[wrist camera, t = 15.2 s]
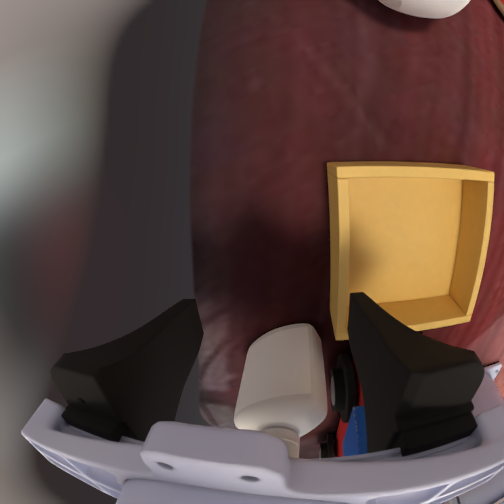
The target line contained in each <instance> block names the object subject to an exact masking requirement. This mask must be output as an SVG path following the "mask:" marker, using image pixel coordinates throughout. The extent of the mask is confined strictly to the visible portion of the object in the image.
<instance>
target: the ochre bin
mask: <svg viewBox="0 0 504 504" xmlns="http://www.w3.org/2000/svg"><path fill="white" fill-rule="evenodd" d="M327 174H328V190H329V211H330V255H331V274H330V313H331V319H332V324H333V329H334V334H335V340H349V337H348V330H347V327H348V316H349V302H350V293H356V292H364V293H365V294H366V295H367V296H369V297H370V298H371V299H372V300H373V301H374V302H375V303H377V304H378V305H379V306H380V307H381V308H383V309H384V310H385V311H386V312H388V313H389V314H390V315H391V316H393V317H394V318H396V319H397V320H398V321H400V322H401V323H403V324H404V325H406V326H408V327H409V328H411V329H413V330H415V331H422V330H428V329H434V328H439V327H445V326H450V325H455V324H460V323H465V322H469V321H470V319H471V316H472V315H471V314H472V312H473V309H474V306H475V302H476V298H477V295H478V291H479V287H480V283H481V279H482V274H483V269H484V265H485V260H486V254H487V248H488V242H489V235H490V228H491V219H492V209H493V196H494V172H492V171H488V170H484V169H480V168H475V167H471V166H466V165H457V164H443V163H426V162H396V161H352V162H327Z"/></svg>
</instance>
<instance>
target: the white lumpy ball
mask: <svg viewBox="0 0 504 504" xmlns="http://www.w3.org/2000/svg"><path fill="white" fill-rule="evenodd" d="M378 1H380V2H381V3H382V4H384V5H385V6H387V7H389V8H391V9H393V10H396V11H399V12H402V13H405V14H408V15H412V16H416V17H423V18H446V17H449V16H451V15H454V14H455V13H457V12H459V11H460V10H461V9H463V8H464V7H465V6H466V5H467V4H468V3H469V1H470V0H378Z"/></svg>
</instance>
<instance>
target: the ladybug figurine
mask: <svg viewBox="0 0 504 504" xmlns="http://www.w3.org/2000/svg"><path fill="white" fill-rule="evenodd" d="M493 1H494V3H495V4H496V6H497V7H498V9H499V10H500V12H501V13H502V15H503V16H504V0H493Z"/></svg>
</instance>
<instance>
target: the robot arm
mask: <svg viewBox="0 0 504 504" xmlns="http://www.w3.org/2000/svg"><path fill="white" fill-rule="evenodd" d="M347 330H348V337H349V343H350V348H351V352H352V355H353V359H354V362H355V366H356V369H357V373H358V377H359V380H360V384H361V389H362V394H363V402H364V410H365V421H366V435H367V453H366V454H359V455H352V456H343V457H333V458H321V459H302V458H293V457H288V448H287V446H286V445H285V443H284V442H283V440H282V439H280V438H278V437H276V436H274V435H271V434H269V433H267V432H261V431H255V430H248V429H232V428H220V427H210V426H202V425H194V424H186V423H181V422H174V421H175V416H176V412H177V408H178V404H179V401H180V397H181V394H182V390H183V388H184V385H185V382H186V380H187V378H188V376H189V373H190V371H191V369H192V366H193V364H194V361H195V359H196V357H197V355H198V352H199V349H200V346H201V342H202V338H203V334H204V333H203V329H202V325H201V321H200V317H199V313H198V309H197V305H196V300H195V299H183V300H181V301H180V302H178V303H176V304H175V305H173V306H172V307H171V308H169V309H168V310H166V311H165V312H163V313H162V314H160V315H159V316H157V317H156V318H154V319H153V320H151V321H150V322H148V323H147V324H145V325H143V326H142V327H140V328H138V329H137V330H135V331H133V332H131V333H129V334H127V335H125V336H123V337H121V338H118V339H116V340H113V341H111V342H108V343H106V344H103V345H100V346H97V347H94V348H90V349H86V350H82V351H77V352H71V353H65V354H63V355H62V356H61V358H60V359H59V360H58V361H57V362H56V363H55V364H54V366H53V367H52V368H51V370H50V373H51V378H52V381H53V382H54V384H55V386H56V387H57V388H58V390H59V392H60V393H61V394H62V396H63V397H64V399H65V400H66V401H67V403H68V404H69V405H68V406H67V407H66V409H65V408H64V407H63V406H61V405H60V404H57V403H55V402H53V401H51V400H49V399H45V400H44V401H43V403H42V404H41V405H40V406H39V408H38V409H37V411H36V412H35V413H34V414H33V416H32V417H31V419H30V420H29V421H28V423H27V424H26V426H25V427H24V428H23V430H22V431H21V434H22V435H23V436H24V437H25V438H26V439H27V440H28V441H29V442H30V443H31V444H32V445H33V446H34V447H35V448H36V449H37V450H38V451H39V452H40V453H41V454H42V455H43V456H45V457H46V458H47V459H48V460H49V461H50V462H51V463H53V464H55V465H56V466H58V467H59V468H61V469H63V470H64V471H66V472H68V473H69V474H71V475H73V476H75V477H76V478H78V479H80V480H82V481H84V482H86V483H87V484H89V485H91V486H93V487H95V488H97V489H99V490H101V491H102V492H104V493H107V494H109V495H111V496H113V497H115V498H118V500H117V502H116V504H440V503H442V502H445V501H447V500H449V499H451V500H449V503H450V504H493V503H495V502H497V501H498V500H500V499H502V498H503V497H504V399H503V397H502V395H501V393H500V391H499V389H498V388H497V386H496V384H495V382H494V379H495V377H496V376H497V374H498V372H499V370H500V368H501V366H502V364H501V362H499V363H496V364H493V365H490V366H487V367H484V366H483V365H482V363H481V361H480V360H479V358H478V357H477V355H476V354H475V352H474V351H471V350H467V349H462V348H458V347H453V346H450V345H447V344H444V343H441V342H438V341H436V340H433V339H431V338H429V337H426V336H424V335H422V334H420V333H418V332H416V331H415V330H413V329H411V328H409V327H408V326H406V325H404V324H403V323H401V322H400V321H398V320H397V319H396V318H394V317H393V316H391V315H390V314H389V313H388V312H386V311H385V310H384V309H383V308H381V307H380V306H379V305H378V304H377V303H375V302H374V301H373V300H372V299H371V298H370V297H369V296H367V295H366V294H365V293H364V292H356V293H350V302H349V316H348V327H347ZM500 504H504V501H503V502H502V503H500Z"/></svg>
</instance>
